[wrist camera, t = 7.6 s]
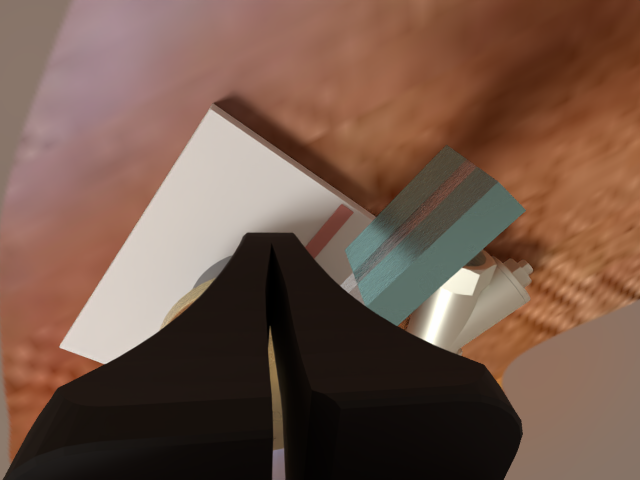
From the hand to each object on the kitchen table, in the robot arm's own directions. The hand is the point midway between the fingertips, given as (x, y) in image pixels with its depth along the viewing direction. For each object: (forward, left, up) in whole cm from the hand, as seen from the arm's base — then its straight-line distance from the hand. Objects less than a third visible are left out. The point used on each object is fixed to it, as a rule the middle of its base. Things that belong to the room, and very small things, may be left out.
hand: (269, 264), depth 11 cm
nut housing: (-7, -5, -10) cm, 14 cm away
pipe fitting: (-1, -15, -11) cm, 19 cm away
